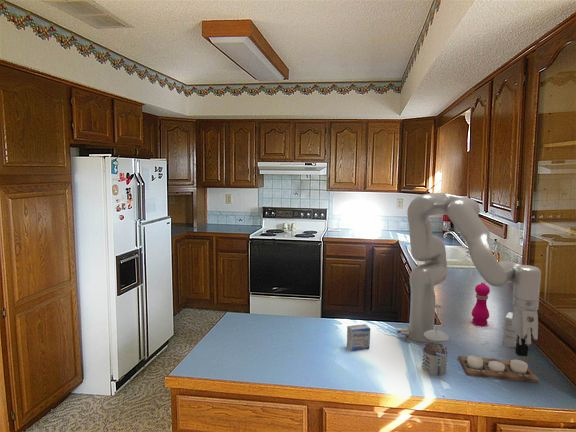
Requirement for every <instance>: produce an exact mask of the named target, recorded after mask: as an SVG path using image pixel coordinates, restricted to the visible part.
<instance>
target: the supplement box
mask: <svg viewBox="0 0 576 432" xmlns="http://www.w3.org/2000/svg"><path fill="white" fill-rule="evenodd" d="M512 316H513V312H510V311H508V312H507V314H506V316H505V317H504V326H503V335H502V337H503V338H502V347H504V348H505V347H506V348H515V349H516V332H515V331H514V330H513V329H512ZM517 343H518V342H517Z"/></svg>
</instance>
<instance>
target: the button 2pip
mask: <svg viewBox="0 0 576 432" xmlns="http://www.w3.org/2000/svg"><path fill="white" fill-rule="evenodd" d="M510 361H511V363H510V367H509V368H510V370H511V371H512V372H513V373H522V374H527V366H528V363H527V362H525V361H523V360H521V359H520V360H519V359H511V360H510ZM528 367H529V366H528Z"/></svg>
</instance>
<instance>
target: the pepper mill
mask: <svg viewBox="0 0 576 432" xmlns="http://www.w3.org/2000/svg"><path fill="white" fill-rule="evenodd" d="M474 290H475V293H476V294H475V298H476V301H475V305H474V307H473V308H472V310H471V316H472V318H471V319H472V320H471V323H472V324H473V325H475V326H476V327H477V326H478V327H486V326H488V322H489V321H488V320H489V318H490V311H489V309H488V306H487V300H488V299H489V294H490V292H491V289H490V287H489V285H487V284H486V281H485V280H481V281H480V283H478V284H477V285H476V286H475V288H474Z"/></svg>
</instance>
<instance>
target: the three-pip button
mask: <svg viewBox="0 0 576 432" xmlns="http://www.w3.org/2000/svg"><path fill="white" fill-rule="evenodd" d="M482 358H483V357H480V356H477V355H468V356H467V363H466V365H467V367H468V368H472V369H482V370H484V369H483V359H482Z"/></svg>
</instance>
